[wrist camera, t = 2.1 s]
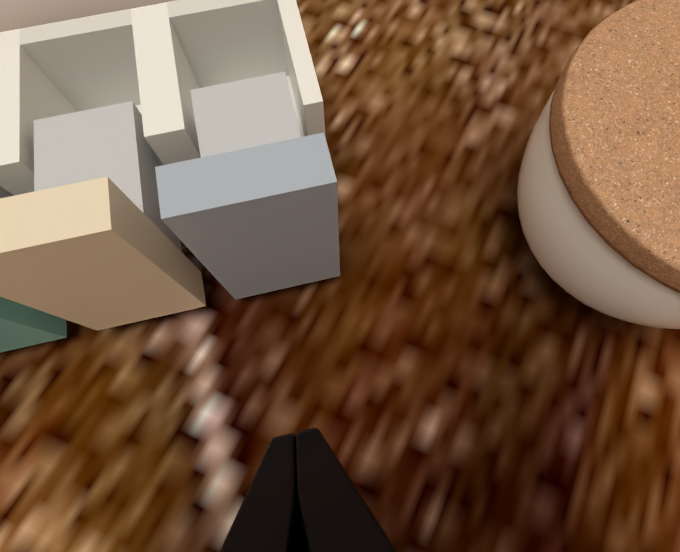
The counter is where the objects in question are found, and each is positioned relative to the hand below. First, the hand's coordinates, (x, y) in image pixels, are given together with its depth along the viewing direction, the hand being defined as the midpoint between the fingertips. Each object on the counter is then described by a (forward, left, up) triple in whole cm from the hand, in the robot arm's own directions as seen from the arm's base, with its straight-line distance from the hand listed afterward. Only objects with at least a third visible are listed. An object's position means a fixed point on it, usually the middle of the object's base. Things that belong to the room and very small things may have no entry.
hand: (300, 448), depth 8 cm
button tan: (+11, -2, -9) cm, 14 cm away
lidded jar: (-6, -14, -10) cm, 18 cm away
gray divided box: (+14, -6, -10) cm, 18 cm away
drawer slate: (+7, -6, -9) cm, 13 cm away
